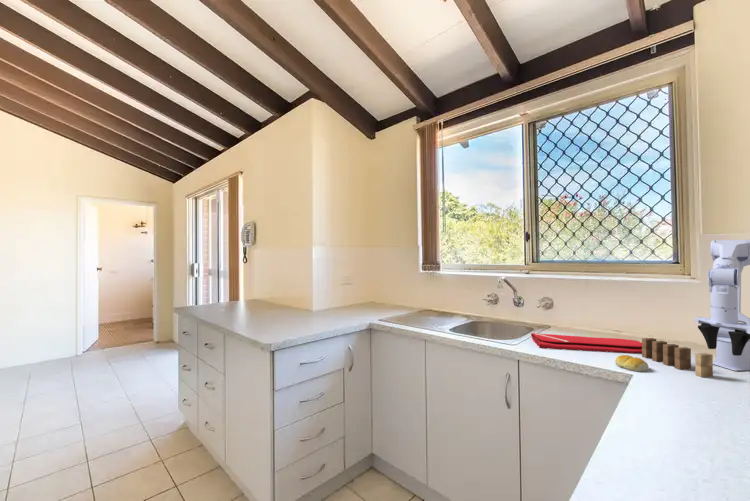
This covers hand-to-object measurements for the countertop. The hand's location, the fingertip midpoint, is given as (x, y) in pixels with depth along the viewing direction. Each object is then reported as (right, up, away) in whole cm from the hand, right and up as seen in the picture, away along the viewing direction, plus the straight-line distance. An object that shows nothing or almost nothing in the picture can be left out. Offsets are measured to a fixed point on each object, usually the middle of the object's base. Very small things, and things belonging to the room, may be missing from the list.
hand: (724, 351), depth 100 cm
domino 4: (-1, -9, +12) cm, 15 cm away
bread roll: (-18, -10, +14) cm, 24 cm away
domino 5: (-1, -9, +5) cm, 11 cm away
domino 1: (-3, -9, +24) cm, 26 cm away
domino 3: (-2, -9, +16) cm, 19 cm away
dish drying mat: (-17, -10, +39) cm, 43 cm away
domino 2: (-2, -9, +20) cm, 22 cm away
